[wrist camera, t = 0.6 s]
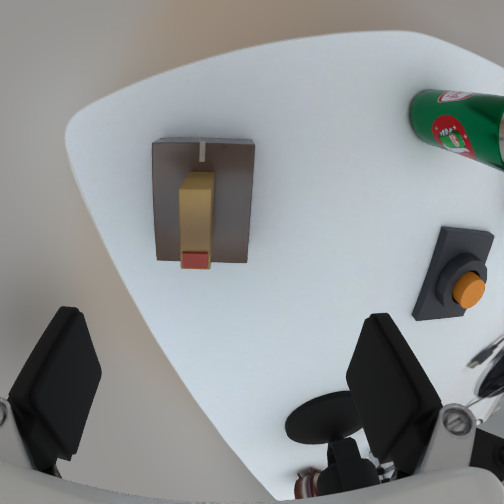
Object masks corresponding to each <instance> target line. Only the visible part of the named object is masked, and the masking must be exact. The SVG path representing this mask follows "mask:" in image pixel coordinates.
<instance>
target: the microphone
mask: <svg viewBox="0 0 504 504" xmlns="http://www.w3.org/2000/svg"><path fill="white" fill-rule="evenodd" d="M362 427H363V426H362V423H361V420H360V417H359V415H358V412H357V409H356V406H355V403H354V400H353V398H352V395H351V392H350V391H342V392H336V393H331V394H328V395H324V396H321V397H318V398H316V399H313V400H311V401H309V402H307V403H305V404H303V405H302V406H300V407H299V408H297V409H296V410H295V411H294V412H292V414H291V415H290V416H289V417H288V419H287V421H286V424H285V429H286V433H287V436H288V437H289V438H290V439H292V440H293V441H295V442H298V443H302V444H324V443H328V450H327V460H328V467H327V468H326V469H325V470H323V471H322V472H321V473H320V474H319V476H318V479H317V483H316V485H317V489H318V494H319V496H325V495H331V494H337V493H343V492H348V491H353V490H357V489H362V488H366V487H371V486H375V485H379V484H383V483H387V482H389V480H390V478H386V479H382V480H380V479H379V476H380V475H383V474H385V470H384V468H383V467H382V468H379V469H376V466H375V465H374V464H373V463H372V462H371V461H369V460H368V459H364V458H361V456H360V453H359V450H358V446H357V443H356V441H355V439H353V438H351V437H348V438H345V437H347V436H349V435H352V434H353V433H355V432H357V431H358V430H360V429H361V428H362Z"/></svg>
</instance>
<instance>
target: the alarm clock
mask: <svg viewBox="0 0 504 504" xmlns="http://www.w3.org/2000/svg"><path fill="white" fill-rule="evenodd" d="M310 470H311V475H307V476H305V477H301V476H300V474H297V475H298V476H299V479H298V480H297V481H296V483H295V487H294V494H295V499H304V498H312V497H319V494H318V489H317V485H316V483H317V479H318V476H319V474H320V473H314V471H313V470H312V468H310Z"/></svg>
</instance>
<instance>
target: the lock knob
mask: <svg viewBox="0 0 504 504" xmlns="http://www.w3.org/2000/svg"><path fill="white" fill-rule="evenodd" d="M214 189H215V172H189V173H188V174H187V176H186V178H185V180H184V181H183V183H182V185H181V187H180V188H179V228H180V257H181V268H182V269H210V266H211V256H212V246H213V229H214Z"/></svg>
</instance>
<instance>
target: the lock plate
mask: <svg viewBox="0 0 504 504" xmlns="http://www.w3.org/2000/svg"><path fill="white" fill-rule="evenodd" d="M254 157H255V144H254V142H253V141H252V140H248V139H226V138H161V139H159V140H157V141H155V142H153V143H152V181H153V208H154V227H155V243H156V256H157V260H161V261H181V257H180V228H179V188H180V187H181V185H182V183H183V181H184V180H185V178H186V176H187V174H188V173H189V172H215V189H214V229H213V246H212V256H211V262H224V263H247V257H248V242H249V228H250V213H251V199H252V185H253V171H254Z"/></svg>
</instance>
